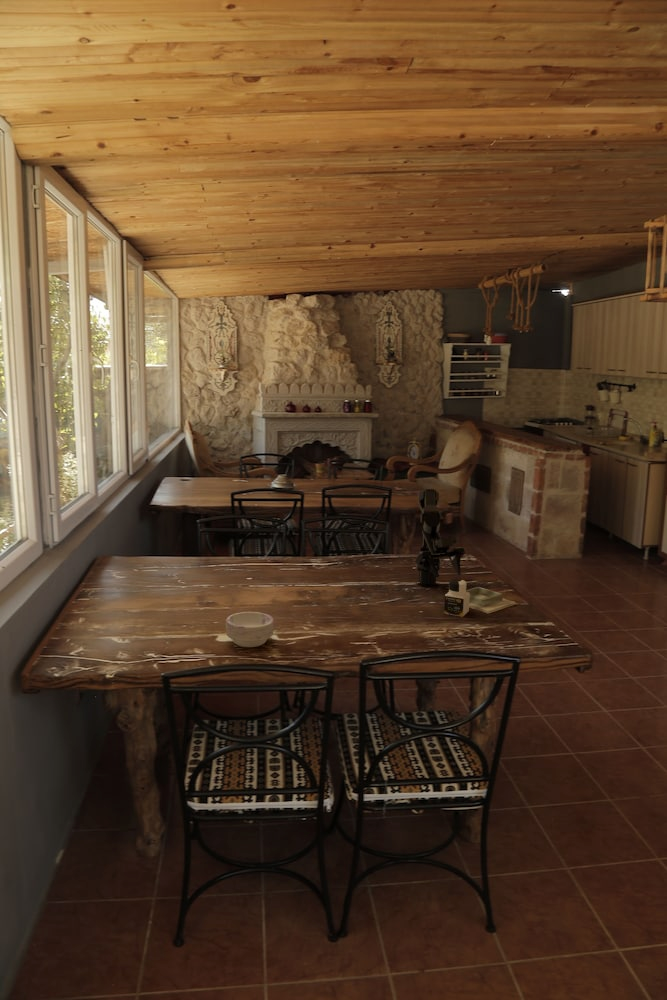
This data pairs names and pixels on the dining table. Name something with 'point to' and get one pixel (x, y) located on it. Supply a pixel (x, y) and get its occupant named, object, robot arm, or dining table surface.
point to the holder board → (487, 600)
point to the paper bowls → (249, 628)
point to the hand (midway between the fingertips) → (448, 575)
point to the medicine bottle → (457, 598)
